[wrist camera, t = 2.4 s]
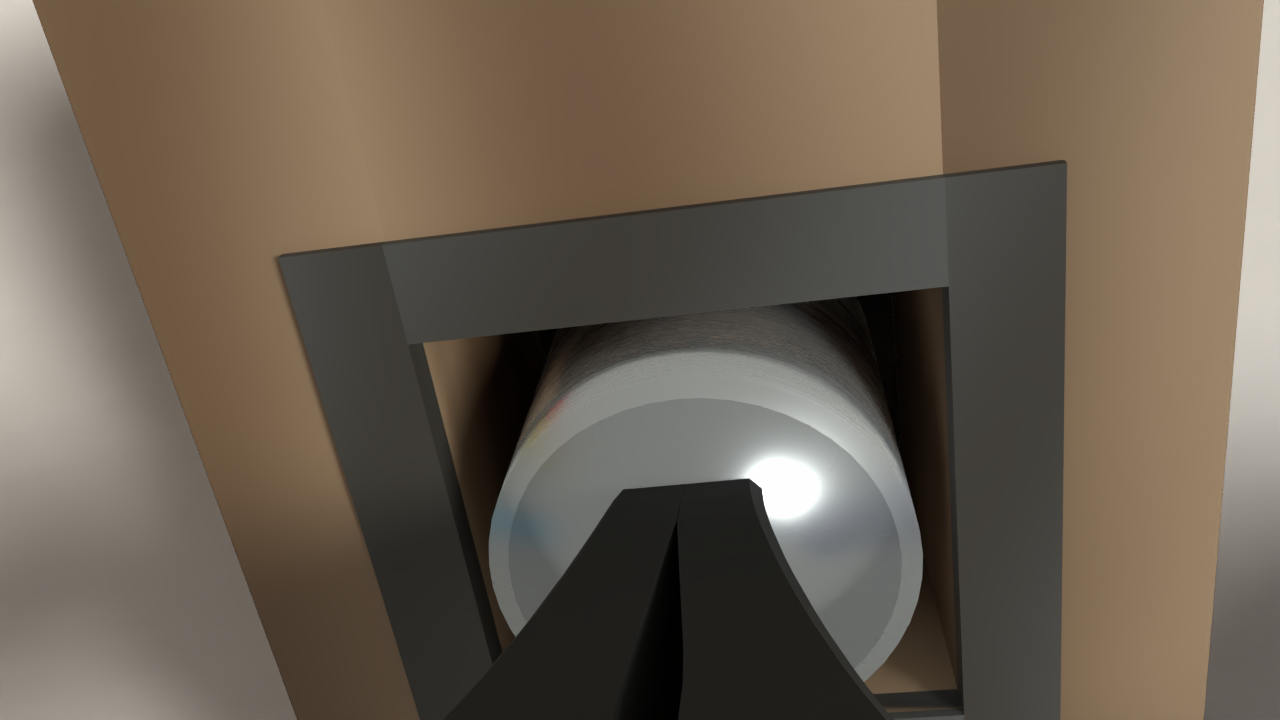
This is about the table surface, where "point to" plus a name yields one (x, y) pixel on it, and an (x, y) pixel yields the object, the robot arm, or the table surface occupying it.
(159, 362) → the table surface
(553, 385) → the steel peg
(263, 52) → the wooden block
